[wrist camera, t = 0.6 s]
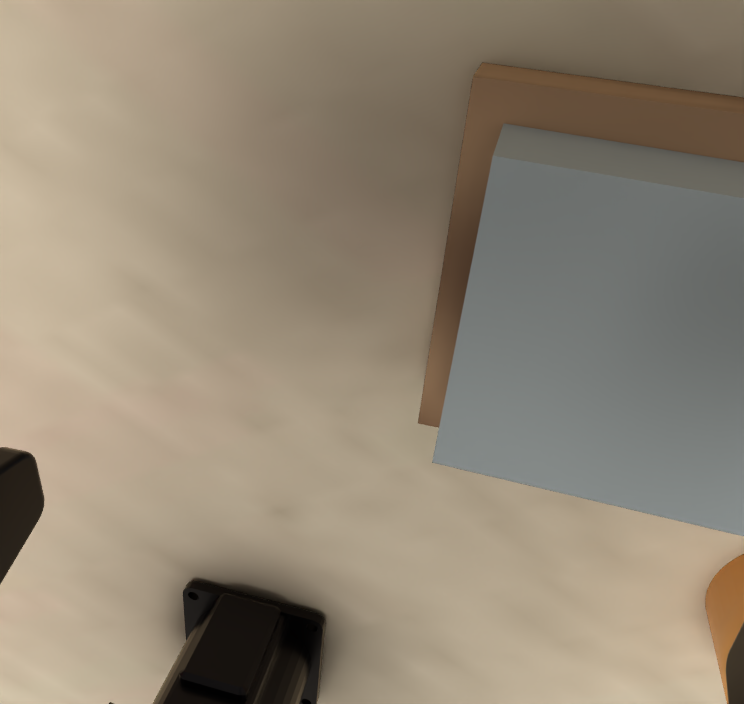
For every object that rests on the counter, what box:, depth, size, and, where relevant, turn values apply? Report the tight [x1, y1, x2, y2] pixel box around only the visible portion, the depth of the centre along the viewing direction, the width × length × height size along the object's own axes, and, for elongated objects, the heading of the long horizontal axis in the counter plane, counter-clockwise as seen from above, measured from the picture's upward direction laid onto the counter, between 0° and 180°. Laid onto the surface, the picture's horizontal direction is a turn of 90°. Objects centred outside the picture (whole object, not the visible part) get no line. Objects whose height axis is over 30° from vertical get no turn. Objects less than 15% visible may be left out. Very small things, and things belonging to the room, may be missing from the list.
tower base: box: [418, 63, 744, 428], centre depth 19 cm, size 10×10×3 cm
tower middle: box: [432, 124, 744, 536], centre depth 17 cm, size 8×8×3 cm
